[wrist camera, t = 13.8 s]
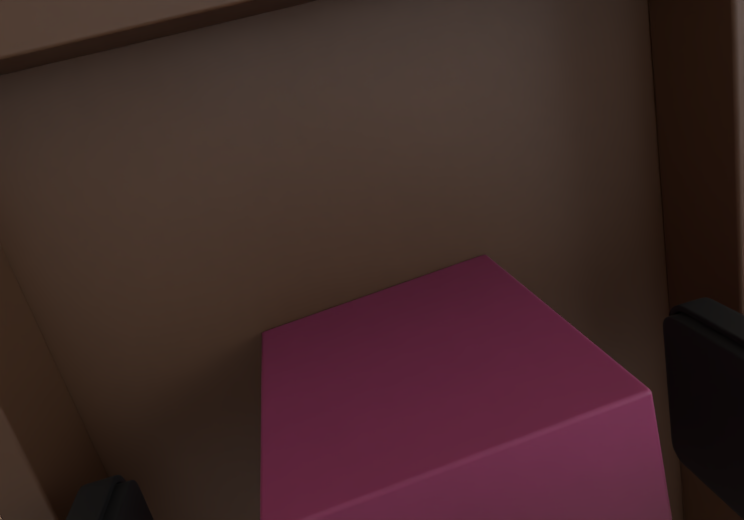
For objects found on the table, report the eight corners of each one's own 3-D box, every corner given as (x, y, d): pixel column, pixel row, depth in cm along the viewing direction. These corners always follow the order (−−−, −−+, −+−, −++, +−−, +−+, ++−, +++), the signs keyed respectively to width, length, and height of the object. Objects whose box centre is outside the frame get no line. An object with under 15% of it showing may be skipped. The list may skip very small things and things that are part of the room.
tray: (198, 720, 15) (185, 853, 13) (-122, 53, 10) (-262, 47, 7) (698, 549, 17) (780, 639, 14) (658, -125, 11) (779, -186, 9)
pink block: (335, 514, 13) (380, 797, 8) (260, 331, 12) (257, 538, 7) (531, 440, 14) (697, 667, 9) (485, 252, 12) (653, 389, 7)
